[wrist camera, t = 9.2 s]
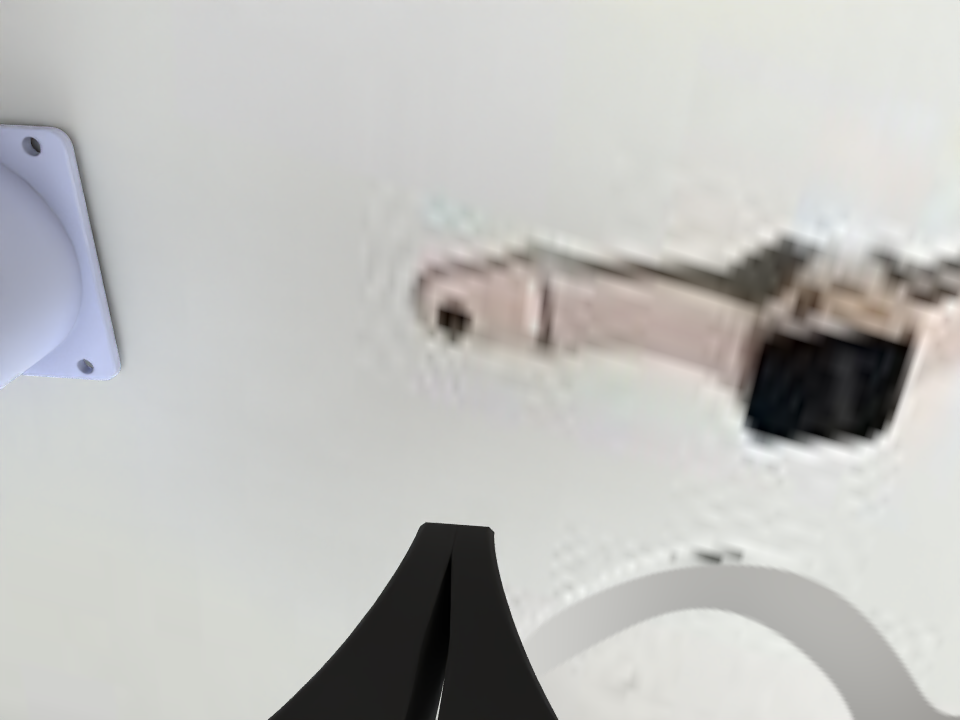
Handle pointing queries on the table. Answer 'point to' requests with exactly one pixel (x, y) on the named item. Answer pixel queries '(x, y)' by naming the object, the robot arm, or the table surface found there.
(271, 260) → the table surface
